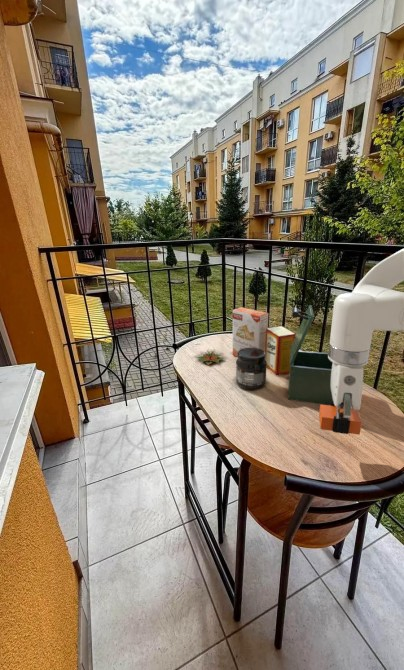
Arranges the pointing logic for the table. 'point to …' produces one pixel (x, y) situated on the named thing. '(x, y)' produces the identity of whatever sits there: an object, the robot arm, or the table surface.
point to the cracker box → (249, 329)
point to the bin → (310, 378)
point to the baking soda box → (278, 349)
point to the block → (330, 411)
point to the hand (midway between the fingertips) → (338, 423)
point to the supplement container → (251, 368)
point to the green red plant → (210, 358)
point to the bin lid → (300, 330)
